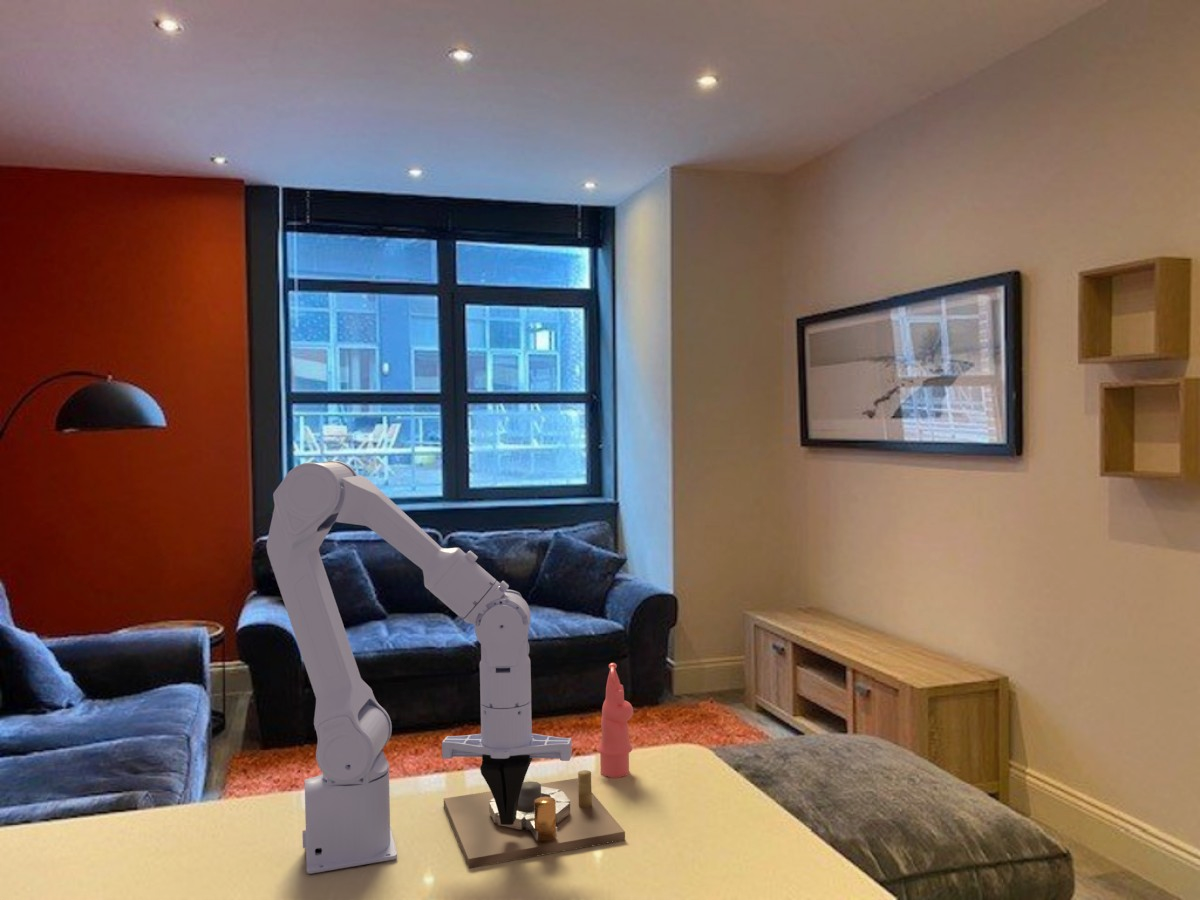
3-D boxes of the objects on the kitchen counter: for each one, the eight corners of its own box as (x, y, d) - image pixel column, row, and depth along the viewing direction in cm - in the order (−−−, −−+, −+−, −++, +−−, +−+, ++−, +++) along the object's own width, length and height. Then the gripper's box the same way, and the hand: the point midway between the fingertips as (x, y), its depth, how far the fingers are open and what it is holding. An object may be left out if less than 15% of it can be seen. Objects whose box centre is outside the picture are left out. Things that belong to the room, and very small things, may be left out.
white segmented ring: (484, 802, 108) (483, 770, 108) (555, 791, 111) (555, 760, 111) (507, 847, 96) (507, 811, 96) (587, 834, 99) (586, 798, 99)
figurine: (634, 779, 118) (632, 668, 117) (596, 779, 118) (594, 669, 117) (633, 765, 123) (632, 658, 122) (597, 765, 123) (595, 659, 123)
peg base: (468, 868, 94) (467, 822, 94) (443, 806, 110) (442, 766, 110) (625, 840, 100) (624, 796, 100) (579, 785, 116) (579, 747, 116)
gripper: (432, 711, 95) (435, 835, 95) (564, 713, 94) (567, 838, 94) (450, 692, 102) (453, 807, 102) (573, 693, 101) (575, 810, 101)
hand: (508, 820), depth 99 cm, fingers closed
